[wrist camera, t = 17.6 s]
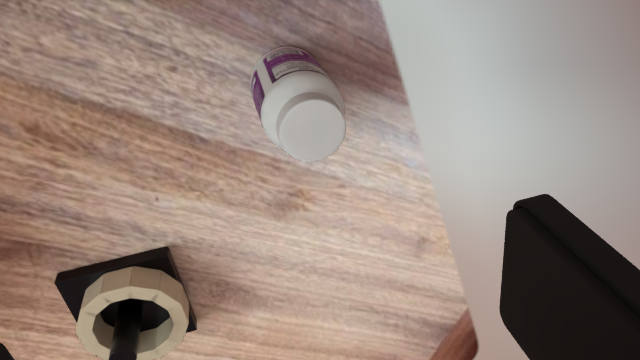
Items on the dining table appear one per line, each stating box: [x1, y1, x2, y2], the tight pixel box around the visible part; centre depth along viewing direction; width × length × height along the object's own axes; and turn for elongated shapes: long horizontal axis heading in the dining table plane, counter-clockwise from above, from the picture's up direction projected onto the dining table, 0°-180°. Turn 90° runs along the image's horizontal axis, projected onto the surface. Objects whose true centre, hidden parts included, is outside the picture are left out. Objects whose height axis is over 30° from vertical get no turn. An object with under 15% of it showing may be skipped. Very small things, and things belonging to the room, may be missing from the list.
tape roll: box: [76, 266, 189, 360], centre depth 41 cm, size 8×8×2 cm
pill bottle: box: [250, 46, 346, 162], centre depth 32 cm, size 5×5×10 cm
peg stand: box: [55, 246, 197, 360], centre depth 40 cm, size 9×9×7 cm
